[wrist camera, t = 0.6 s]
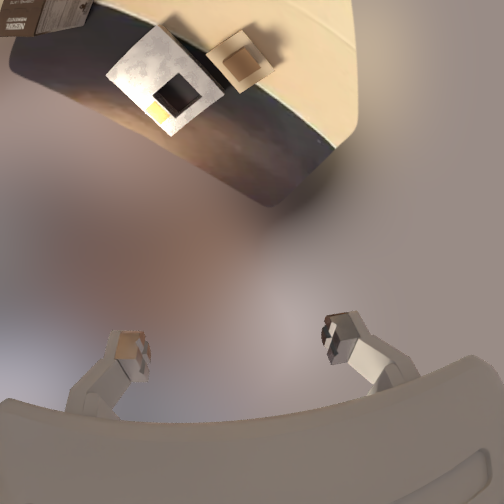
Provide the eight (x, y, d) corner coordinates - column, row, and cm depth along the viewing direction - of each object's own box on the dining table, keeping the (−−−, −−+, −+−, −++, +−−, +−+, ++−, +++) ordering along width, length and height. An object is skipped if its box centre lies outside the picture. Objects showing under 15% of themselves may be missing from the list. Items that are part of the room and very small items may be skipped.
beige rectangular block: (241, 29, 33) (242, 30, 31) (272, 68, 39) (275, 70, 37) (206, 53, 36) (205, 54, 34) (239, 89, 42) (239, 93, 40)
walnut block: (243, 46, 34) (245, 48, 31) (258, 64, 36) (261, 67, 33) (222, 60, 35) (222, 63, 32) (238, 77, 38) (239, 82, 35)
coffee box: (47, 23, 24) (-9, 38, 13) (57, -7, 20) (2, -2, 9) (84, 26, 27) (32, 37, 17) (97, -5, 23) (46, -6, 13)
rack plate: (162, 24, 31) (157, 24, 29) (224, 89, 42) (224, 94, 39) (112, 71, 36) (105, 75, 33) (174, 129, 46) (170, 136, 44)
